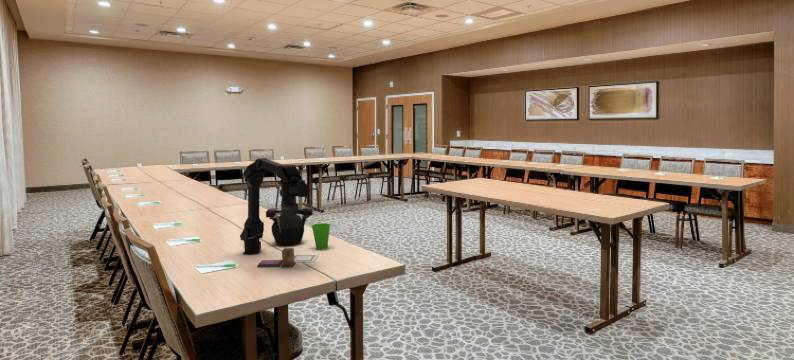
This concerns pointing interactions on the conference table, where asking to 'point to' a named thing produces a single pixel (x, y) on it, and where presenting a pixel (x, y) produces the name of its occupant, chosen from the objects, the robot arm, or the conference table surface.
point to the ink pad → (270, 263)
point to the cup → (321, 234)
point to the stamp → (288, 258)
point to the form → (305, 258)
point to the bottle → (288, 230)
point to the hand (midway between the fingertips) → (290, 232)
